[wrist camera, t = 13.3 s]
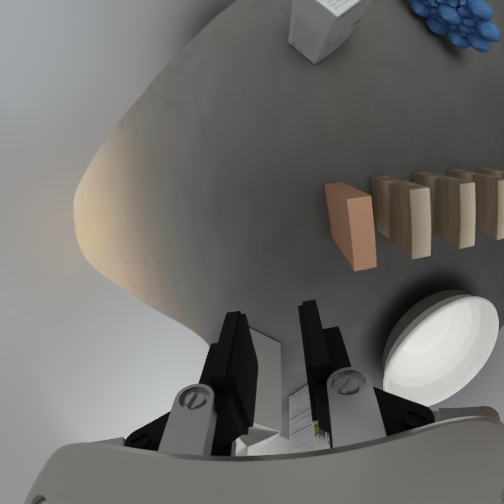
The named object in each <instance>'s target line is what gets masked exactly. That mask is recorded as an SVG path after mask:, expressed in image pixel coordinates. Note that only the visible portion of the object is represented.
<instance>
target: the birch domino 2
mask: <svg viewBox="0 0 504 504" xmlns="http://www.w3.org/2000/svg"><path fill="white" fill-rule="evenodd" d="M412 182H413V183H415V184H419V185H422V186H426V187H429V190H430V209H431V232H433V233H435V234H436V235H438V236H440V237H441V238H443V239H445V240H446V241H448V242H449V243H451V244H453V245H454V246H456V247H457V248H459V249H462V248H466V247H471V246H474V242H475V213H476V204H475V183H474V182H470V181H466V180H462V179H458V178H453V177H449V176H444V175H440V174H435V173H430V172H415V173H412Z"/></svg>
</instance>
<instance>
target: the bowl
mask: <svg viewBox="0 0 504 504" xmlns="http://www.w3.org/2000/svg"><path fill="white" fill-rule="evenodd" d="M498 330H499V319H498V315H497V311H496V309H495V307H494V305H493V304H492V303H491V302H490V301H488V300H487V299H485V298H481V297H476V296H474V295H473V294H471V293H469V292H466V291H463V290H445V291H441V292H436V293H434V294H432V295H429V296H427V297H426V298H424V299H422V300H421V301H419V302H417V303H416V304H415V305H414V306H413V307H411V308H410V309H409V310H408V311H407V312H406V313H405V314H404V315H403V316H402V317H401V318H400V320H399V321H398V322H397V324H396V325H395V326H394V328H393V330H392V331H391V333H390V335H389V337H388V340H387V343H386V346H385V349H384V353H383V359H382V369H383V374H384V379H383V390H384V391H386V392H388V393H391V394H394V395H396V396H399V397H402V398H405V399H408V400H410V401H413V402H416V403H419V404H422V405H424V406H426V407H427V406H430V405H433V404H436V403H438V402H441V401H442V400H445V399H447V398H448V397H450V396H451V395H453V394H455V393H456V392H458V391H459V390H460V389H461V388H463V387H464V386H465V385H466V384H467V383H468V382H469V381H471V380H472V379H473V378H474V377H475V375H476V374H477V373H478V372H479V371H480V369H481V368H482V367H483V365H484V364H485V362H486V361H487V359H488V358H489V356H490V354H491V352H492V350H493V348H494V345H495V342H496V339H497V335H498Z"/></svg>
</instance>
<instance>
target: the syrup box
mask: <svg viewBox="0 0 504 504" xmlns="http://www.w3.org/2000/svg"><path fill="white" fill-rule="evenodd" d="M289 430H290V453H300V452H308V451H316V450H323V449H329V448H330V444H329V433H327V432H325V431H323V430H321V429H319V427H318V421H312V415H311V406H310V397H309V389H308V384H307V385H306V386H304V387H303V388H301V389H300V390H298V391H297V392H295V393H294V394H292V395H291V396H289Z"/></svg>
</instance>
